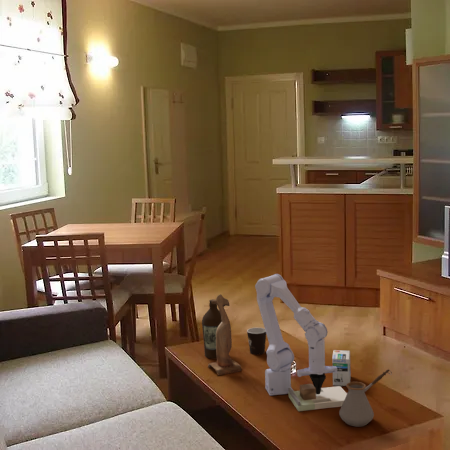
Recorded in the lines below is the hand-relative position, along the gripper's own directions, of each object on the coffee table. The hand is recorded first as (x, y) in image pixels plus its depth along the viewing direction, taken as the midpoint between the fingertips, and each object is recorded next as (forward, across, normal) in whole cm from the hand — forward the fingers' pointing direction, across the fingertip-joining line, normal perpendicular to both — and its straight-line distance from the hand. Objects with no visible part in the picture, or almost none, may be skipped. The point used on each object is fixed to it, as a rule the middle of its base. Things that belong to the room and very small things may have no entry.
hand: (317, 393), depth 244 cm
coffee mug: (+3, -9, +59) cm, 60 cm away
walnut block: (+1, -4, 0) cm, 4 cm away
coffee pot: (+3, +12, -18) cm, 22 cm away
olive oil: (+3, -28, +59) cm, 65 cm away
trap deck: (+3, +1, 0) cm, 3 cm away
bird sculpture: (+3, -27, +41) cm, 49 cm away
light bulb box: (+3, +15, +16) cm, 22 cm away
